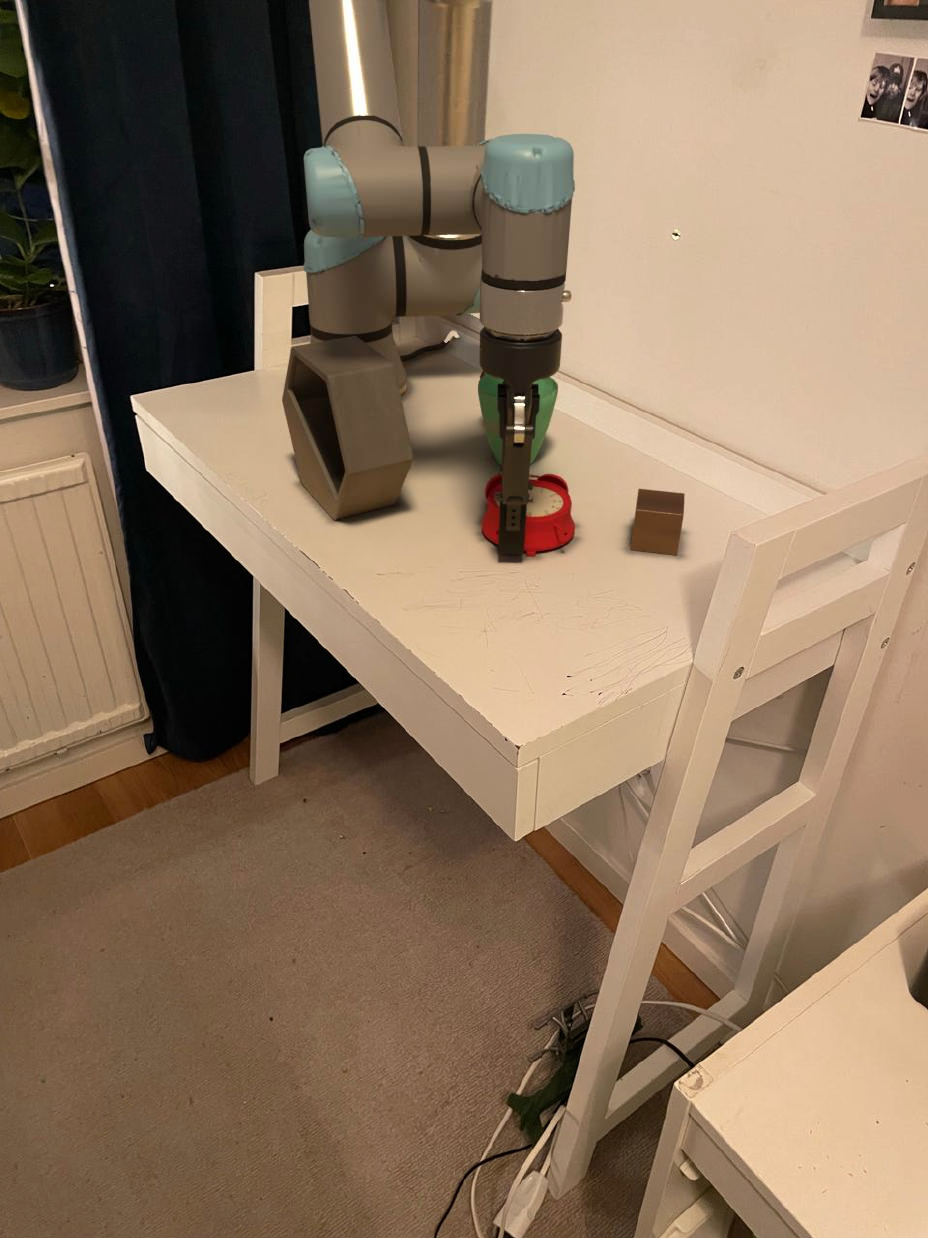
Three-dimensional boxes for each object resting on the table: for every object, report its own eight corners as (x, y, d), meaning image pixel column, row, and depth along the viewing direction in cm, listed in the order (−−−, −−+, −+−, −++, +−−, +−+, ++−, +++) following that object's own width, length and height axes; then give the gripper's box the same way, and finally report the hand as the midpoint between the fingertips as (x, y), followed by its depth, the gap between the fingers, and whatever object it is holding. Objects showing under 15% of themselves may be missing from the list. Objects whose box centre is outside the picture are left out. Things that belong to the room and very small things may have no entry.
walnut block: (633, 527, 105) (638, 488, 103) (678, 532, 105) (684, 492, 102) (630, 550, 101) (635, 509, 99) (677, 555, 101) (683, 514, 98)
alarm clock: (483, 529, 97) (481, 440, 107) (481, 571, 102) (480, 482, 112) (582, 530, 97) (572, 441, 107) (576, 572, 102) (567, 483, 112)
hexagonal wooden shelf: (276, 426, 116) (297, 311, 97) (334, 414, 119) (364, 301, 101) (326, 543, 111) (357, 445, 93) (385, 527, 114) (426, 429, 96)
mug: (566, 469, 117) (572, 393, 112) (495, 482, 114) (497, 404, 108) (517, 424, 128) (520, 353, 123) (451, 435, 125) (451, 362, 120)
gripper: (567, 352, 80) (549, 584, 93) (558, 306, 90) (543, 520, 104) (479, 351, 80) (474, 583, 93) (480, 305, 90) (476, 519, 104)
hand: (511, 550), depth 98 cm, fingers closed
